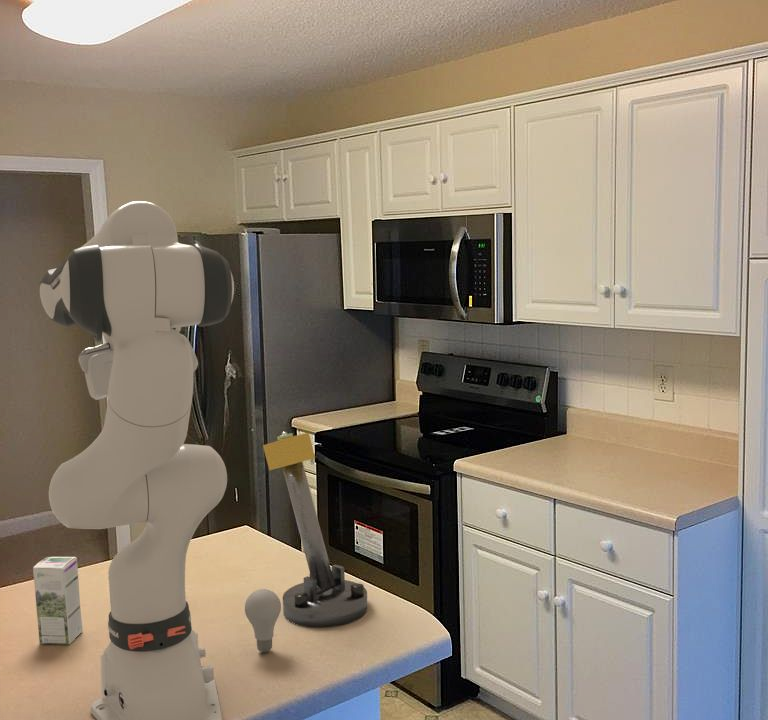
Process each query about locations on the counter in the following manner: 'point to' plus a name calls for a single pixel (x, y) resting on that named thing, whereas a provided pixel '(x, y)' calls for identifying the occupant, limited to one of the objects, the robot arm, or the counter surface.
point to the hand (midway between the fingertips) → (156, 408)
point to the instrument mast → (302, 502)
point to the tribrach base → (325, 602)
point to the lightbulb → (263, 616)
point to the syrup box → (57, 600)
